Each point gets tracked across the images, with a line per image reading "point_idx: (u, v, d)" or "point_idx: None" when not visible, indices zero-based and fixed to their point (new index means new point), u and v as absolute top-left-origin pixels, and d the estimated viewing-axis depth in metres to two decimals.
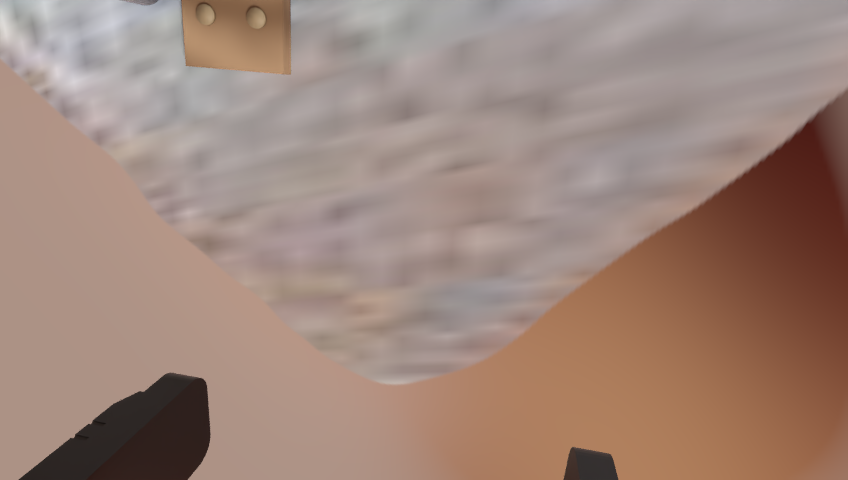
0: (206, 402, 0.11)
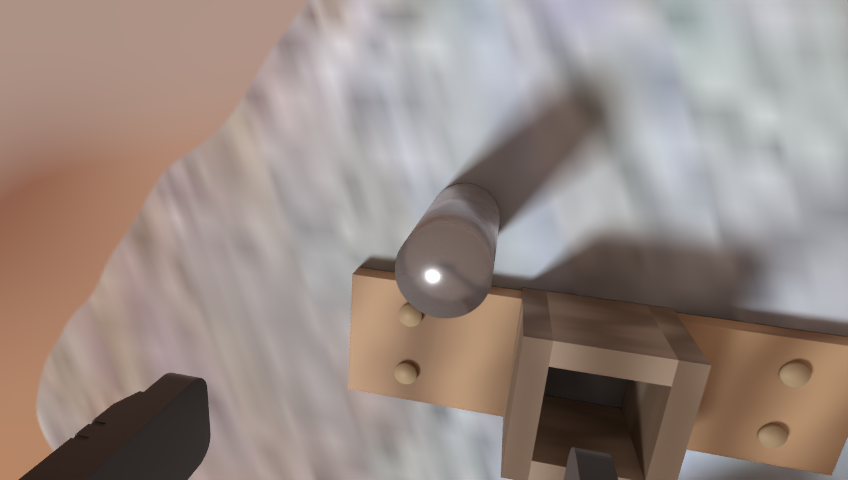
0: (206, 402, 0.11)
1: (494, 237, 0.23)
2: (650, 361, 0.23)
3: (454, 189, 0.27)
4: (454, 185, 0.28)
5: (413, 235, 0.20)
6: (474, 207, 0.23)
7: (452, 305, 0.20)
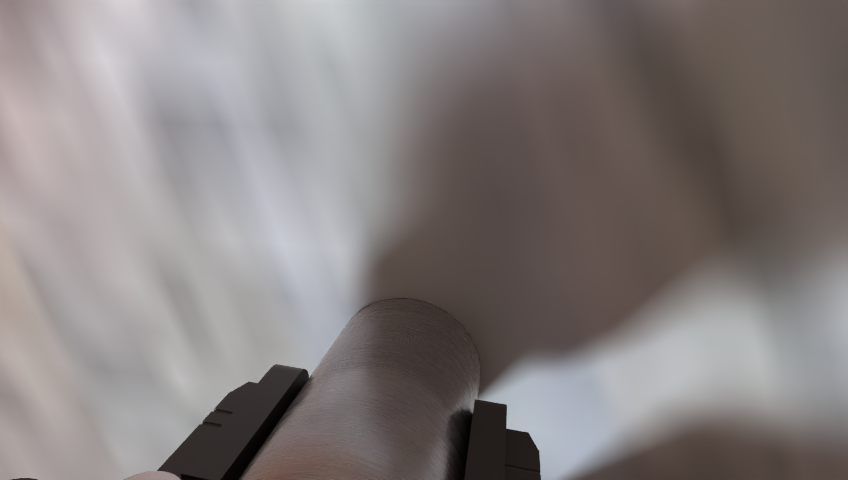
0: None
1: None
2: None
3: (373, 327, 0.12)
4: (381, 305, 0.13)
5: None
6: (398, 430, 0.08)
7: None
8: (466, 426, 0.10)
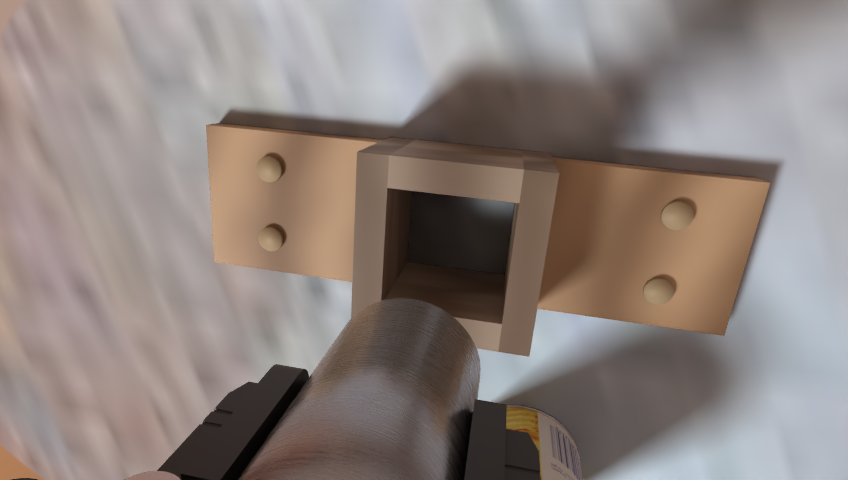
0: None
1: None
2: (493, 172, 0.20)
3: (373, 326, 0.12)
4: (381, 305, 0.13)
5: None
6: (398, 429, 0.08)
7: None
8: (466, 426, 0.10)
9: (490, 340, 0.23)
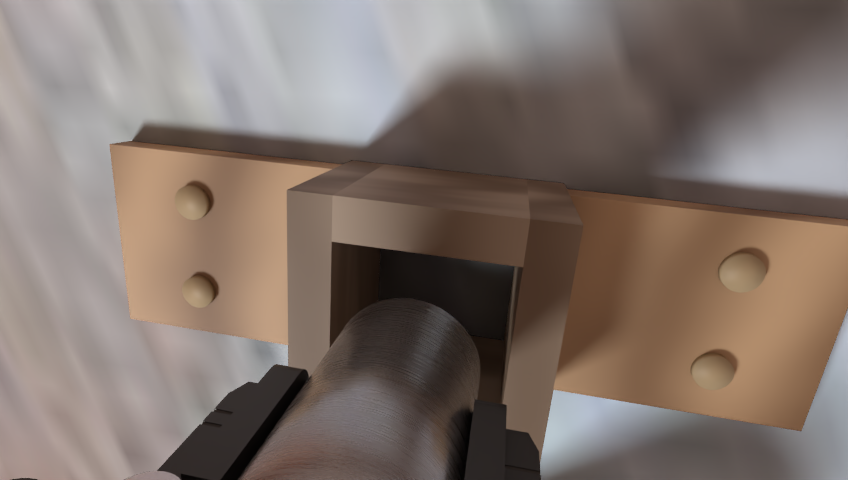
0: None
1: None
2: (485, 222, 0.14)
3: (373, 326, 0.12)
4: (381, 304, 0.13)
5: None
6: (398, 429, 0.08)
7: None
8: (466, 426, 0.10)
9: None
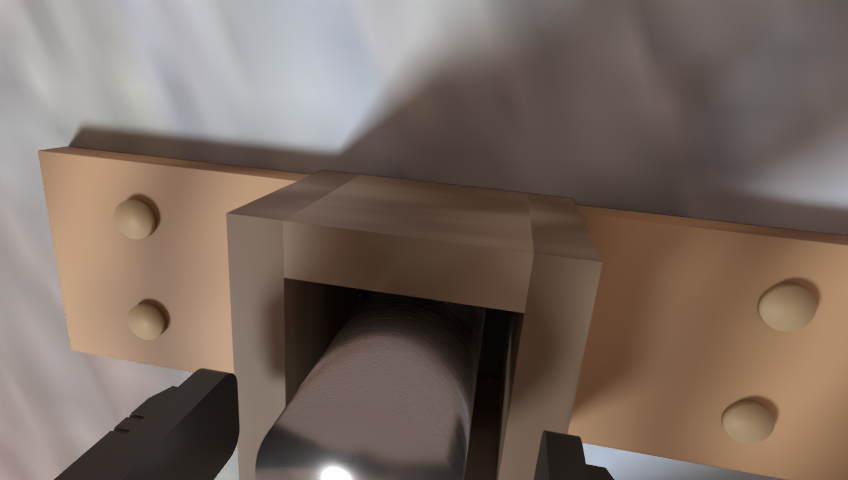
0: (236, 397, 0.11)
1: (471, 374, 0.12)
2: (476, 257, 0.11)
3: None
4: None
5: (287, 416, 0.09)
6: (434, 313, 0.13)
7: None
8: (478, 326, 0.14)
9: None
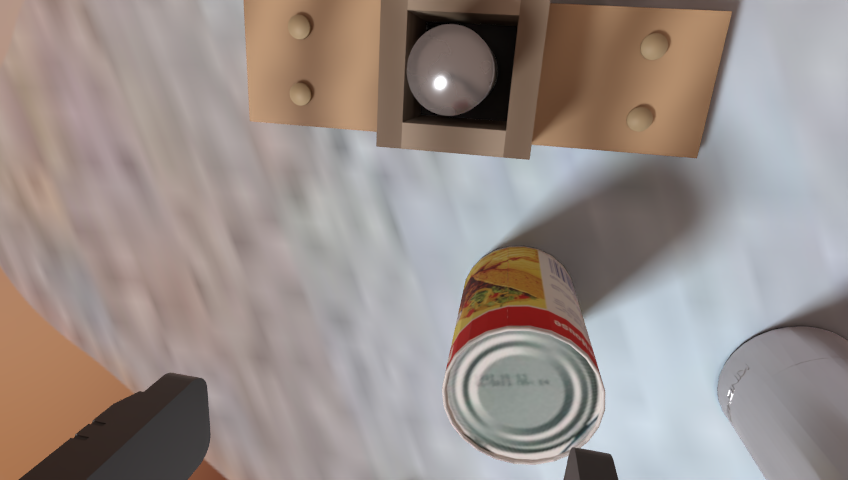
0: (206, 402, 0.11)
1: (493, 59, 0.26)
2: None
3: None
4: None
5: (422, 36, 0.23)
6: None
7: (458, 102, 0.23)
8: (495, 59, 0.28)
9: (496, 147, 0.27)
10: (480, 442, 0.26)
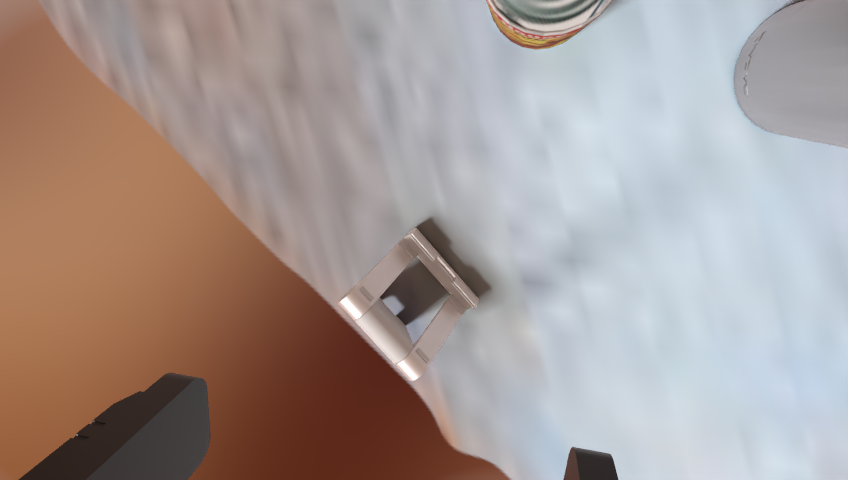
0: (206, 402, 0.11)
1: None
2: None
3: None
4: None
5: None
6: None
7: None
8: None
9: None
10: (512, 16, 0.27)
